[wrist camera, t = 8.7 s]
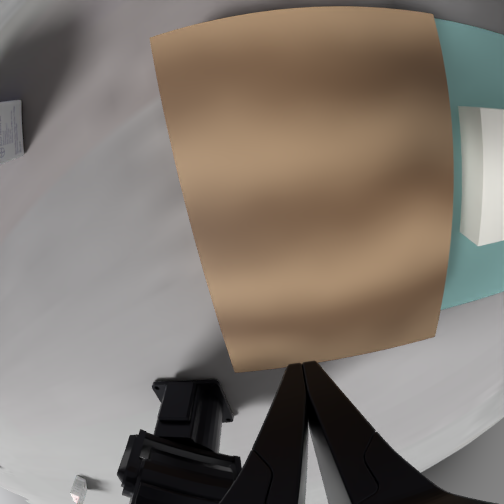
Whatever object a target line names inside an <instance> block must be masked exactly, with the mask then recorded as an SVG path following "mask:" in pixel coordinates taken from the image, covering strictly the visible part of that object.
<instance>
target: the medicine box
mask: <svg viewBox="0 0 504 504" xmlns="http://www.w3.org/2000/svg"><path fill="white" fill-rule="evenodd" d="M23 155H24V148H23V135H22V114H21V100H13V101H6V102H0V165H1V164H4V163H6V162H9V161H11V160H14V159H16V158H19V157H21V156H23Z"/></svg>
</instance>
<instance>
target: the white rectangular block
mask: <svg viewBox="0 0 504 504" xmlns="http://www.w3.org/2000/svg"><path fill="white" fill-rule="evenodd" d="M458 111H459V122H460V135H461V155H462V200H461V220H460V233H462V234H463V235H464V236H466V237H467V238H468V239H469V240H471V241H472V242H473V243H474V244H476V245H477V246H482V245H486V244H490V243H495V242H499V241H503V240H504V109H496V108H484V107H468V106H458Z"/></svg>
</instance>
